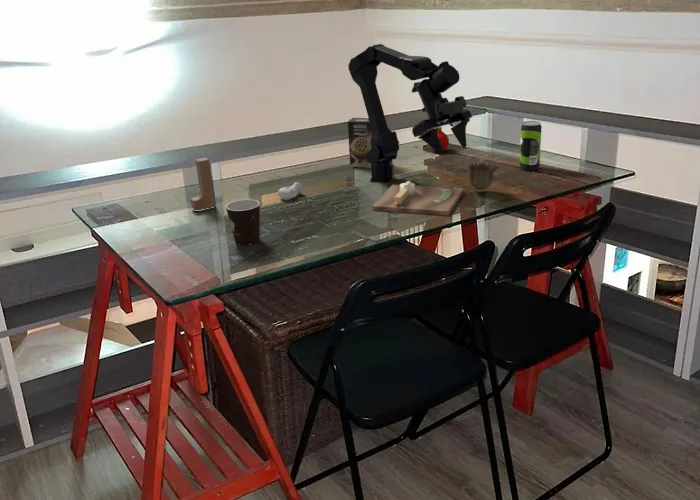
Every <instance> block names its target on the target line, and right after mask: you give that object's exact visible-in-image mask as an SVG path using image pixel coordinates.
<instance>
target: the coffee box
mask: <svg viewBox="0 0 700 500" xmlns="http://www.w3.org/2000/svg"><path fill="white" fill-rule="evenodd" d="M347 133H348V153H349V155H348V156H349V167H350V168H354V167H366V168H365V169H371V163H368V162H367V159H366V155H367V153H368V152H369V151H370V150H371V143H370V141H371V136H372V128H371V125H370V121H369V118H368V117H352V118H351V119H348V121H347Z"/></svg>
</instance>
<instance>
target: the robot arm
mask: <svg viewBox="0 0 700 500" xmlns="http://www.w3.org/2000/svg"><path fill="white" fill-rule="evenodd" d="M381 63H383V64H385V65H388V66H390V67H392V68H395V69H398V70H399V71H401V74H402V75H403V76H404V77H405V78H406V79H408V80H409V81H417V80H421V81H417V82H414V83H413V85H412V86H413V87H412V89H411V93H418V95H419V98H420V101H421V102H422V105H423V108H421V111H422V113H426V114H427V118H426V119H424V120H421V121H420V122H418V123H417V124H415V125H413V126H412V132H411V133H412V135H413V136H414V138H417V137H418V140H422V141H423V142H424V143H425V144H427V145H428V146H431V147H432V148H433V149H434V150H433V149H432V148H431V147H430V148H431V149H432V150H433V151H435V152H437V153H438V154H439V155H440V156H442V155H444V153H445V152H444V150H443V149H442V146H441V144H440V141H439V138H438V136H437V132H438V128H437V127H445V126H447V125H449V126H451V127H450V130H451V132H452V134H453V135H454V137H455V138H456V140H457V141H458V143H459V144H460V146H461V147H462V148H463V149H466V148H467V135H466V134H467V133H466V132H467V131H466V129H467V125H468V123H469V122H471V121H470V119H471V118H473V115H472V113H471V111H470V110H469V109H467V108H466V107H467V101H466V99H465V97H464V95H462V96H461V95H460V96H455V98H454V100H453V101H449V99H448V98H447V97H443V95H442V94H443V93H445V92H447V91H448V90H450V89H451V88H452V87H454V86H455V85H456V84H458V83H459V82H460V73H459V70H458V69H456V68H455V66H453V65H451V64H450V63H449V61H448V60H447V61H442V62H440V63H439V65H437V64H435V62H432V59H431V58H430V57H428V56H423V55H409V54H406V53H403V52H401V51H398V50H395V49H393V48H390V47H388V46H385V45H384V44H383V43H377V44H371V45H369V46H368V47H367V48H366V49H365V50H364V51H362V52H360V53H359V54H357V55H355V57H353V58H352V57H351V59H350V61H349V63H348V65H347V66H348V71H349V74H350V76H351V79H352V81H353V82H354V83H356V85H357V86H358V87H359V88H360V92H361V95H362V99H363V102H364V106H365V110H366V113H367V118H369V121H370V125H371V128H372V136H371V141H370V143H371V150H370V151H369V152H368V153H367V155H366V159H367V162H368V163H371V168H370V169H371V178H370V179H369V182H375V183H377V182H378V183H390V182H392V180H393V179H394V178H395V164H393V160H397V156H398V152H399V150H400V141H399V139H398V134H397V132H396V131H395V130H394V131H392V130H391V129H390V128H389V127H388V124H387V120H386V119H387V118H386V116H385V113H384V108H383V105H382V102H381V98H380V95H379V92H378V88H377V84H376V81H377V77H378V73H379V72H378V66H379V65H381ZM465 108H466V109H465Z"/></svg>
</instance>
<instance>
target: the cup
mask: <svg viewBox="0 0 700 500" xmlns="http://www.w3.org/2000/svg"><path fill="white" fill-rule="evenodd" d="M494 169H495V167H494V165H493V164H489V163H486V164H485V163H484V162H483V163H482V162H479V164H478V162H477V163H475V164H473V163H471V164H470V165H468V177H469V183H470V185H471V186H472V187H473V188H474V192H475V194H486V193H487V191H488V188H489V187H490V186H491V184H492V182H493V178H494V171H495V170H494Z"/></svg>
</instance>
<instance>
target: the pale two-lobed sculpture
mask: <svg viewBox="0 0 700 500" xmlns="http://www.w3.org/2000/svg"><path fill="white" fill-rule="evenodd" d="M303 191H304V187H303V185H302V183H300V182H297V181H295V182H294V183H293V185H291V186H285V187H281V188H280V189H278V191H277V195H278V197H279V198H280V199H281V200H284V201H290V200H291V199H295V197H297V196H298V195H299V196H300V194H301V195H302V192H303Z"/></svg>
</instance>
